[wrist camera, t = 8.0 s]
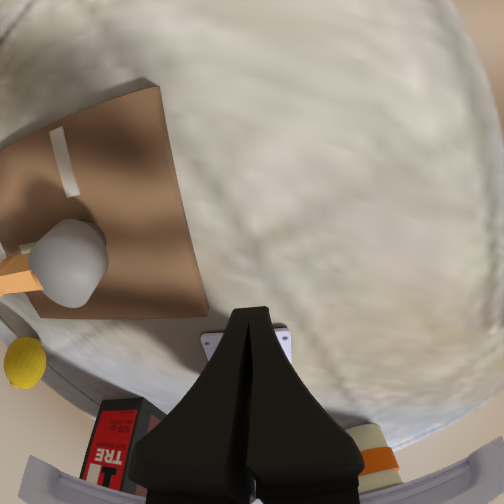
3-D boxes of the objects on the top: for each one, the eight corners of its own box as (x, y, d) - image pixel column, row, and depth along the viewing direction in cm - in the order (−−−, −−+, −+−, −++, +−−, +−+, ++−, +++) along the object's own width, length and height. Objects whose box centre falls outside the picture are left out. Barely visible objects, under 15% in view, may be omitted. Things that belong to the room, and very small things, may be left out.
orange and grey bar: (91, 211, 16) (67, 234, 13) (119, 277, 18) (102, 305, 16) (-5, 242, 17) (-25, 261, 14) (20, 289, 19) (4, 311, 17)
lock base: (208, 306, 23) (204, 329, 21) (45, 310, 25) (34, 327, 22) (159, 87, 15) (144, 86, 12) (-17, 163, 16) (-36, 173, 14)
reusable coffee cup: (305, 445, 41) (312, 519, 28) (355, 416, 35) (371, 504, 22) (355, 447, 44) (365, 511, 31) (402, 420, 38) (421, 491, 25)
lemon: (39, 324, 26) (9, 374, 19) (62, 355, 29) (39, 404, 22) (15, 323, 26) (-13, 367, 19) (37, 352, 29) (14, 396, 22)
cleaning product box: (102, 400, 34) (71, 514, 17) (143, 397, 32) (115, 532, 15) (166, 443, 42) (153, 536, 25) (207, 442, 40) (199, 545, 23)
